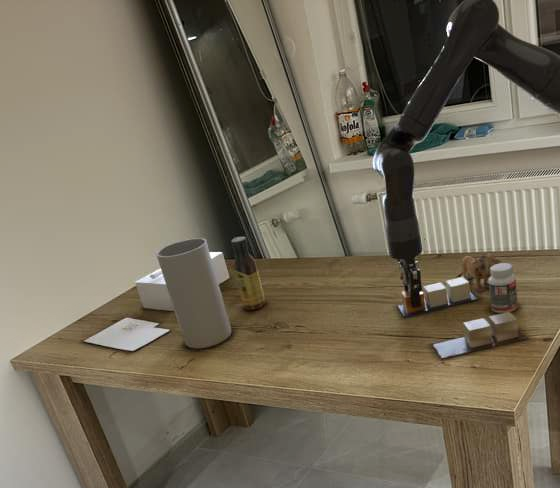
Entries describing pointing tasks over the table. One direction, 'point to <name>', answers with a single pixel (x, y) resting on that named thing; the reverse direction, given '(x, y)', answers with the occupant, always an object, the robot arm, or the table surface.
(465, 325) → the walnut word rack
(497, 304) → the pill bottle
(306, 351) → the table surface
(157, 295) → the tissue box
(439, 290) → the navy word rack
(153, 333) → the paper
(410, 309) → the orange cube
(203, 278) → the cylinder vase
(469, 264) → the lion figurine
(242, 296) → the sauce bottle
